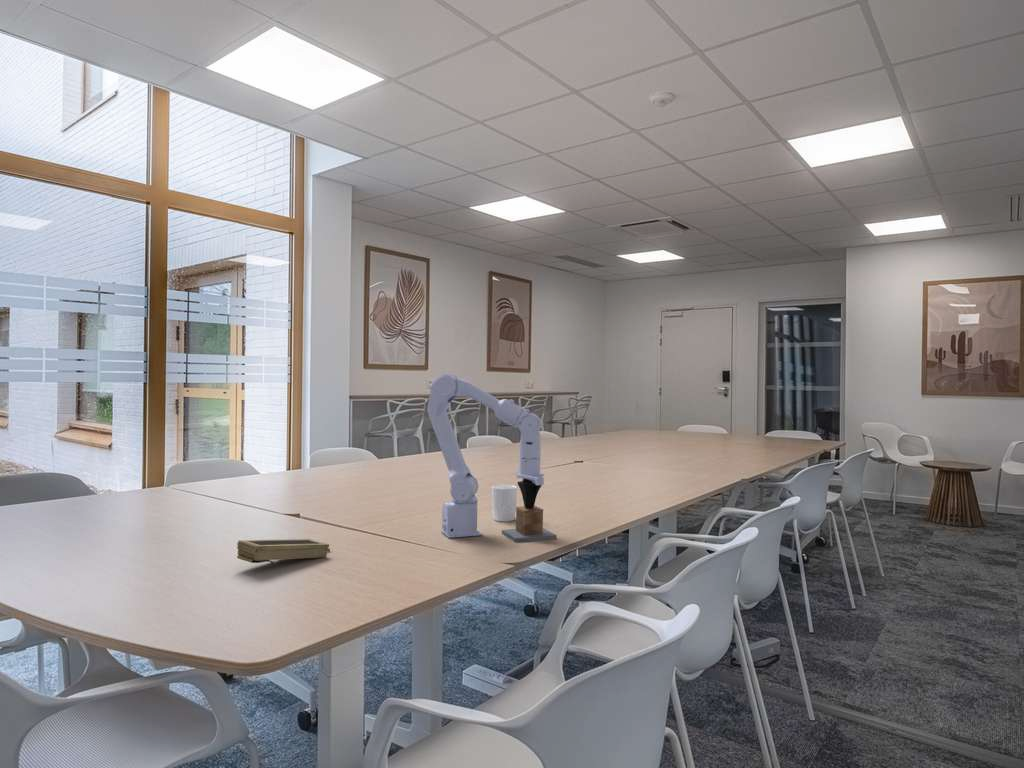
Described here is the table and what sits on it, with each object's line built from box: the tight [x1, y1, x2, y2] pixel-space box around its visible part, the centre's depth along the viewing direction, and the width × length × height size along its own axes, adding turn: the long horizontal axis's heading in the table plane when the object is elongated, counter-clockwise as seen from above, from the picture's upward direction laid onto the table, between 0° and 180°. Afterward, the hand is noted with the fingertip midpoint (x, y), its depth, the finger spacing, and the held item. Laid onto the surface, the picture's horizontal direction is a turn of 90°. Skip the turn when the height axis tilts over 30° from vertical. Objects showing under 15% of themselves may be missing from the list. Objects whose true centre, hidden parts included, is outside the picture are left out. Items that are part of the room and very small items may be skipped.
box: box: [236, 538, 331, 566], centre depth 142 cm, size 8×22×5 cm, turn 145°
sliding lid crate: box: [515, 505, 544, 536], centre depth 169 cm, size 6×6×7 cm
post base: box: [501, 527, 558, 543], centre depth 169 cm, size 12×10×5 cm
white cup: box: [491, 484, 518, 522], centre depth 190 cm, size 8×8×10 cm
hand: (529, 507), depth 169 cm, fingers closed
